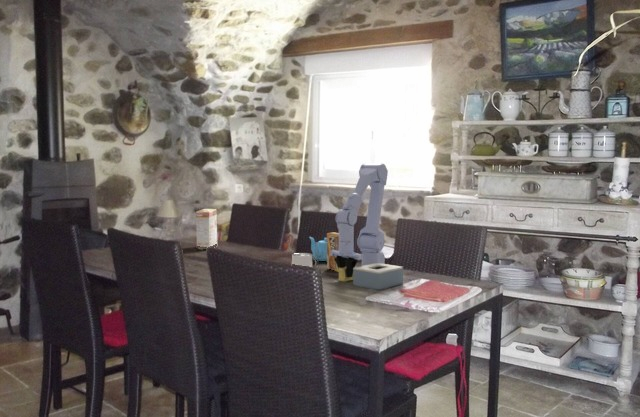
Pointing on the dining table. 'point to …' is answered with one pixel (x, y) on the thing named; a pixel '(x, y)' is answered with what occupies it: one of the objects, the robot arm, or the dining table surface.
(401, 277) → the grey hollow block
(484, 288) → the dining table surface
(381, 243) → the robot arm
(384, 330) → the dining table surface
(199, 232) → the coffeecake box
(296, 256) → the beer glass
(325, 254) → the teapot
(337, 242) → the candy box
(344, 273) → the gold block
